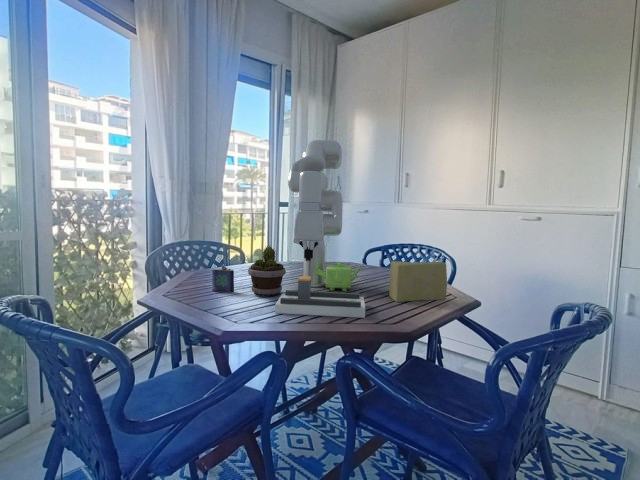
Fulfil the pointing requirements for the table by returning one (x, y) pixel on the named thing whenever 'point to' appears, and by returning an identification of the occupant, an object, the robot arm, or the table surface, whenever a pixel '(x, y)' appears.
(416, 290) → the cheese
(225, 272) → the flask
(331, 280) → the kettle
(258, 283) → the flowerpot
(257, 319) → the table surface
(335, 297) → the breaker panel
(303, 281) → the block
